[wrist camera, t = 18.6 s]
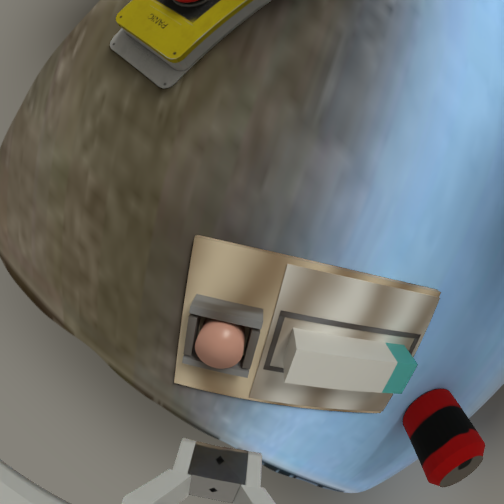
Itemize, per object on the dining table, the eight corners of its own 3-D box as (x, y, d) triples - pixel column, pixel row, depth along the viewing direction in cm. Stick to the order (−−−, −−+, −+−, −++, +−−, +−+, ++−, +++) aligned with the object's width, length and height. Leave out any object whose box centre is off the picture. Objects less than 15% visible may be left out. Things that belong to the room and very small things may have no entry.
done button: (249, 317, 26) (247, 335, 23) (240, 353, 27) (238, 372, 24) (205, 307, 26) (198, 323, 23) (198, 344, 27) (192, 362, 24)
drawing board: (437, 289, 26) (453, 302, 23) (378, 408, 30) (386, 427, 27) (196, 234, 26) (187, 243, 22) (175, 378, 30) (168, 397, 26)
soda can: (451, 378, 29) (495, 438, 17) (448, 412, 31) (482, 469, 19) (400, 402, 30) (434, 474, 18) (402, 434, 32) (428, 498, 20)
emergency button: (287, -32, 16) (150, 81, 19) (284, -7, 20) (167, 94, 23) (210, -69, 14) (87, 32, 17) (216, -45, 18) (108, 47, 22)
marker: (293, 327, 26) (296, 349, 23) (403, 345, 27) (417, 364, 23) (282, 359, 27) (284, 382, 24) (390, 372, 27) (401, 393, 24)
